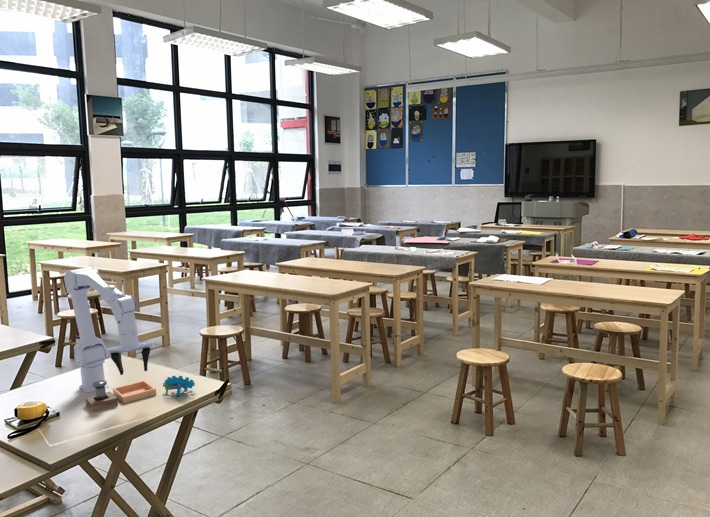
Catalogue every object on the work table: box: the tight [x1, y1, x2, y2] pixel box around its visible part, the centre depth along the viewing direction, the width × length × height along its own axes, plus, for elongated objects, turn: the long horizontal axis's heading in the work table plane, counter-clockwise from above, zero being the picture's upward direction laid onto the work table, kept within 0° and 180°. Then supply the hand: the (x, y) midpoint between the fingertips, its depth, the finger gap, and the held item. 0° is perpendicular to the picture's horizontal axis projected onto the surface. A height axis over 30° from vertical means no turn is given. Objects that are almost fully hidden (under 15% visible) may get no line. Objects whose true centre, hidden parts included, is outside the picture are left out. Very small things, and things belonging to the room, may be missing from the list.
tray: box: [112, 380, 157, 404], centre depth 210 cm, size 11×11×2 cm
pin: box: [92, 379, 108, 401], centre depth 201 cm, size 4×4×8 cm
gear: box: [162, 375, 196, 398], centre depth 209 cm, size 11×6×10 cm
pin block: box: [84, 391, 119, 413], centre depth 202 cm, size 8×8×3 cm
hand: (134, 372), depth 202 cm, fingers open, 7 cm apart
